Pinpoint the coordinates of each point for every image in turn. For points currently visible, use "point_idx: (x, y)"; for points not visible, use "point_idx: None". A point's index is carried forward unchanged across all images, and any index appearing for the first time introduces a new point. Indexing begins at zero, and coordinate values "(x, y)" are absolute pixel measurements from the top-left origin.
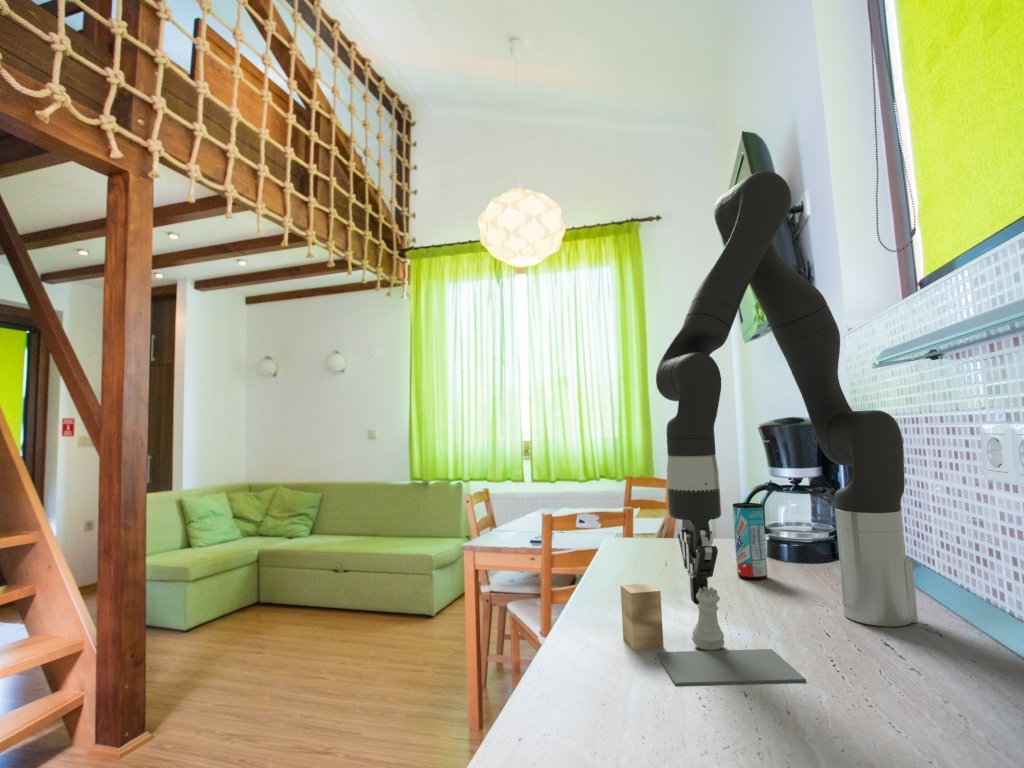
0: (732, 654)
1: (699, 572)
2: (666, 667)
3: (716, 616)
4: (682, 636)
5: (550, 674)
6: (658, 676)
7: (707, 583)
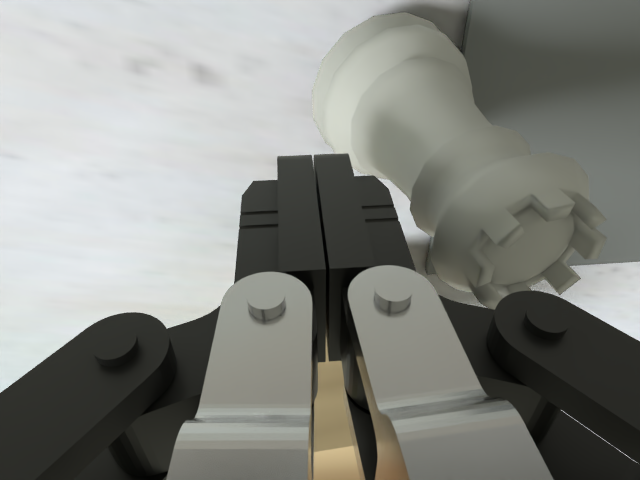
0: (527, 7)
1: (576, 423)
2: None
3: (482, 117)
4: (239, 161)
5: None
6: (584, 281)
7: (367, 237)
